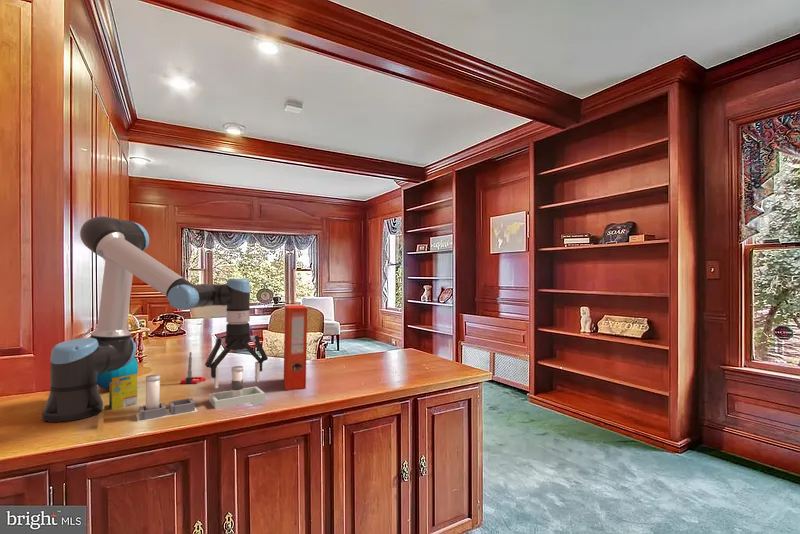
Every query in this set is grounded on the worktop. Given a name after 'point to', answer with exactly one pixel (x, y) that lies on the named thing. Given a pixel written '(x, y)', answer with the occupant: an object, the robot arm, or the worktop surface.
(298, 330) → the file binder
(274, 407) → the worktop surface
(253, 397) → the parts tray
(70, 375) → the robot arm
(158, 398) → the cylinder
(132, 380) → the crayon box
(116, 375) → the decorative orb
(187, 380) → the tow hook
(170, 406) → the block
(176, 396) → the worktop surface
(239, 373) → the cylinder
